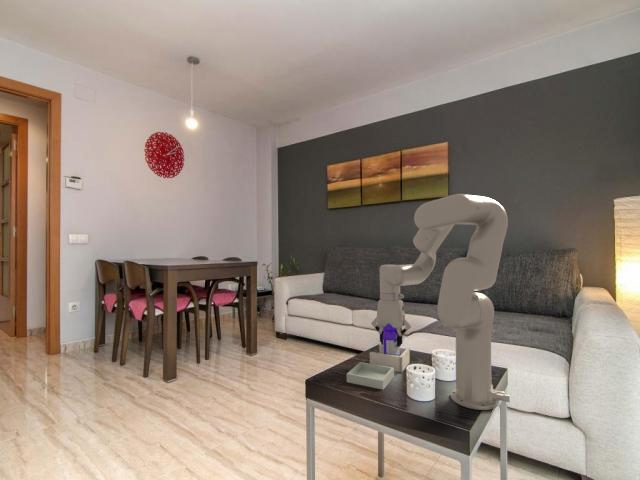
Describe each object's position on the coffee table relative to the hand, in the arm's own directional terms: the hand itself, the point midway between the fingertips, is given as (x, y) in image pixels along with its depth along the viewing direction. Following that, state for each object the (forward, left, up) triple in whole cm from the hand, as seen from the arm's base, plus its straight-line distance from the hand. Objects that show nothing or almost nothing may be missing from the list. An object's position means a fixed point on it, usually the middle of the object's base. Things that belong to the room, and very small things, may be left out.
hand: (391, 344), depth 128 cm
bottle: (0, 0, -7) cm, 7 cm away
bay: (+1, 0, -8) cm, 8 cm away
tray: (+3, +16, -8) cm, 18 cm away
